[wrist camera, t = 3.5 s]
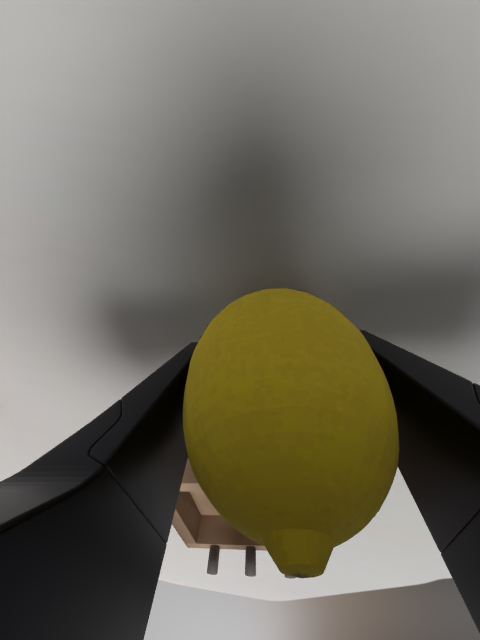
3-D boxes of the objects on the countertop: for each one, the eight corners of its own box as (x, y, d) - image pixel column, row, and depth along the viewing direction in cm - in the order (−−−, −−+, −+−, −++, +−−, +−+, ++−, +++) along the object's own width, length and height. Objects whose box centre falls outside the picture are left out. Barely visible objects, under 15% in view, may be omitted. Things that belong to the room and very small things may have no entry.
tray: (317, 440, 15) (336, 517, 11) (312, 513, 20) (324, 580, 17) (159, 443, 16) (133, 513, 13) (194, 511, 21) (182, 573, 18)
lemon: (187, 300, 10) (40, 536, 3) (301, 232, 8) (519, 427, 1) (249, 378, 12) (243, 619, 5) (350, 337, 11) (529, 614, 4)
